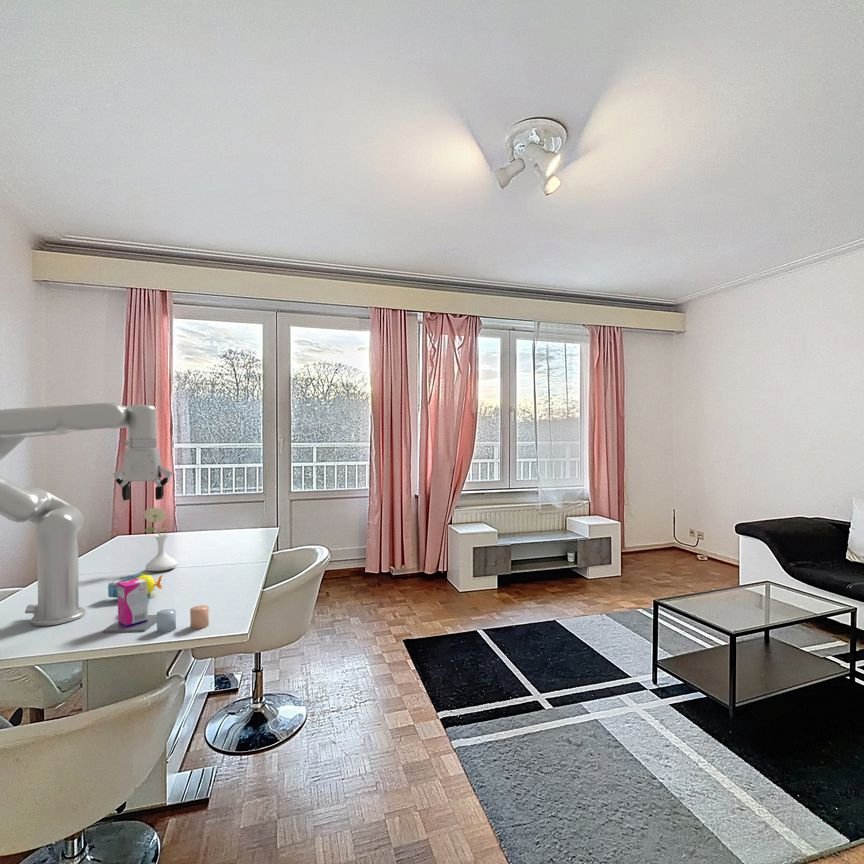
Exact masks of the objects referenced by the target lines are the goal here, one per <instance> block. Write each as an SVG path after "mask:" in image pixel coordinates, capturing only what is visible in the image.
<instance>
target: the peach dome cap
mask: <svg viewBox="0 0 864 864" xmlns="http://www.w3.org/2000/svg"><path fill="white" fill-rule="evenodd" d="M209 608H210V607H209V605H205V604H204V605H195V606H193V607H191V608H190V612H189V613H190V615H189V621H190V623H189V624H190V627H189V628H190V629H191V630H202V629H205V628H207V627H209V625H210V624H209V623H210V621H209V620H210V619H209V618H210V617H209V616H210V614H209V613H210V612H209Z"/></svg>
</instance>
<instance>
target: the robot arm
mask: <svg viewBox="0 0 864 864" xmlns="http://www.w3.org/2000/svg"><path fill="white" fill-rule="evenodd" d="M124 428H125V429H126V428H128V431H127V432H128V433H127V434H128V436H127V437H128V438H127V440H125V441H124V442H123V443H124V444H123V445H124V446H127V448H128V449H125V451H124V454H123V461H122V468H120V469H119V470H117V471H114V472H113V473H112V476H113V478H114V479H115V482H116V483H117V484H118V485H119V486H120V488H121V496H122V500H123V501H129V500H131V498H132V494H131V493H132V487H131V486H130V485H131V483H132V482H153V483H154V484H155V485H156V487H155V490H154V494H155V501H159V500H163V497H164V492H165V491H164V488H165V486H166V484H167V483H168V482H169V481H170V479H171V477H172V475H173V471H171V470H169V469H166V468H164V467H162V466H163V465H162V460H161V459H162V458H161V454H160V450H159V448H157V409H156V407H155V406H154V405H151V404H150V405H149V404H133V405H121V404H117V403H113V402H100V403H99V402H98V403H96V402H95V403H86V404H85V403H84V404H83V403H82V404H81V403H80V404H70V405H69V404H68V405H49V406H35V407H20V408H19V407H18V408H15V407H14V408H4V409H0V461H2V460H3V459H4V458H5V457H6V456H7V455H8V454H9V453H11V452H12V451H13V450H14V449H15V448H16V447H17V446H18V445H20V444H21V443H22V442H23V441H24V440H25V439H26V438H34V437H35V438H36V437H45V436H46V437H47V436H48V437H49V436H59V435H65V434H68V433H72V432H77V431H79V432H81V431H90V430H100V429H101V430H103V429H112V430H113V429H114V430H115V429H116V430H118V429H124ZM163 474H164V477H163V478H162V476H163ZM0 516H2V517H4V518H6V519H7V520H9V521H11V522H15V523H26V522H30V523H32V524H34V525H36V526H35V531H34V537H35V538H34V539H35V543H36V544H35V545H36V554H37V557H36V558H37V604H28V605H27V606H26V608H25V610H24V613H25V614H33V616H32V618H31V619H30V624H31V625H33V626H36V627H43V626H44V627H46V626H49V627H50V626H55V625H61V624H65V623H69V622H72V621H75V620H78V619H80V618H81V617H83V616H84V615H85V614H86V608H84V607H82V606H81V607H79V606H80V604H79V602H80V601H79V600H80V598H79V591H80V590H79V547H78V546H79V543H78V532H80V531H81V530H82V529H83V527H84V523H85V518H84V515H83V513H82V512H81V511H80V510H79V509H78V508H77V507H76V506H73V505H72V504H70V503H68V502H66V501H65V500H63V499H62V498H59V497H58V496H56V495H54V494H52V493H50V492H49V491H46V489H42V488H39V487H36V486H26V487H25V486H24V487H23V486H20V485H18V484H16V483H14V482H12V481H11V480H9V479H8V478H5V477H4V476H3V475H0Z"/></svg>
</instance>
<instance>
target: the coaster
mask: <svg viewBox="0 0 864 864" xmlns="http://www.w3.org/2000/svg"><path fill="white" fill-rule="evenodd" d="M155 624H157V614H148V621H147V622H144V623H140V624H137V625H133V626H130V627H124V626H123V625H121V624H120V623H118V620H116V621H115V622H114V623H112V624H110V625H109V626H108V627H106V628H105V629H103V630H102V634H109V633H111V634H112V633H135V632H137V633H138V632H139V633H140V632H144V633H145V632H146V631H147V630H149V629H150V628H151V627H152V626H154V625H155Z"/></svg>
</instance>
